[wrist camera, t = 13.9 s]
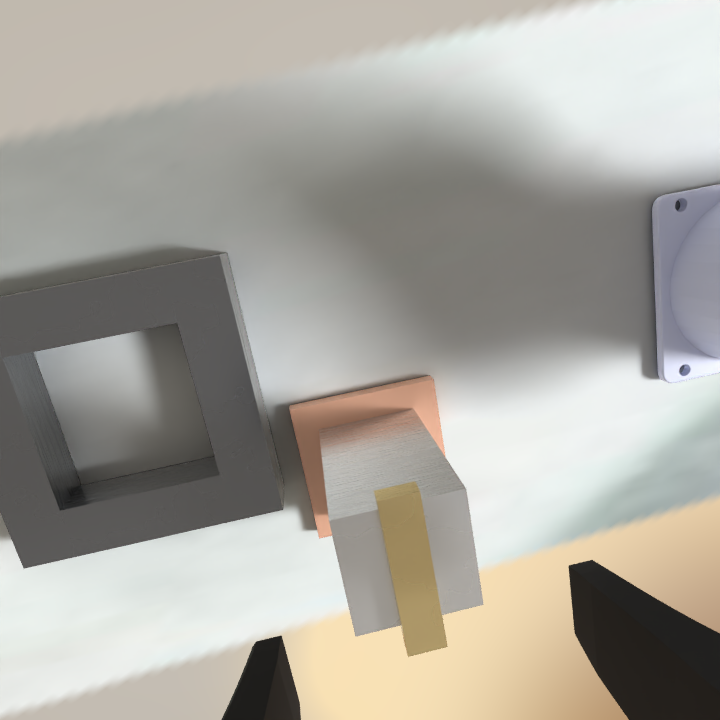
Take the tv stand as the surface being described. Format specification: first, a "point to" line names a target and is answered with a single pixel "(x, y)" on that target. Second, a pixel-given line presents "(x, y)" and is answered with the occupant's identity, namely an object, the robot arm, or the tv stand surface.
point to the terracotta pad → (353, 409)
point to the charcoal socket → (150, 488)
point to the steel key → (399, 528)
